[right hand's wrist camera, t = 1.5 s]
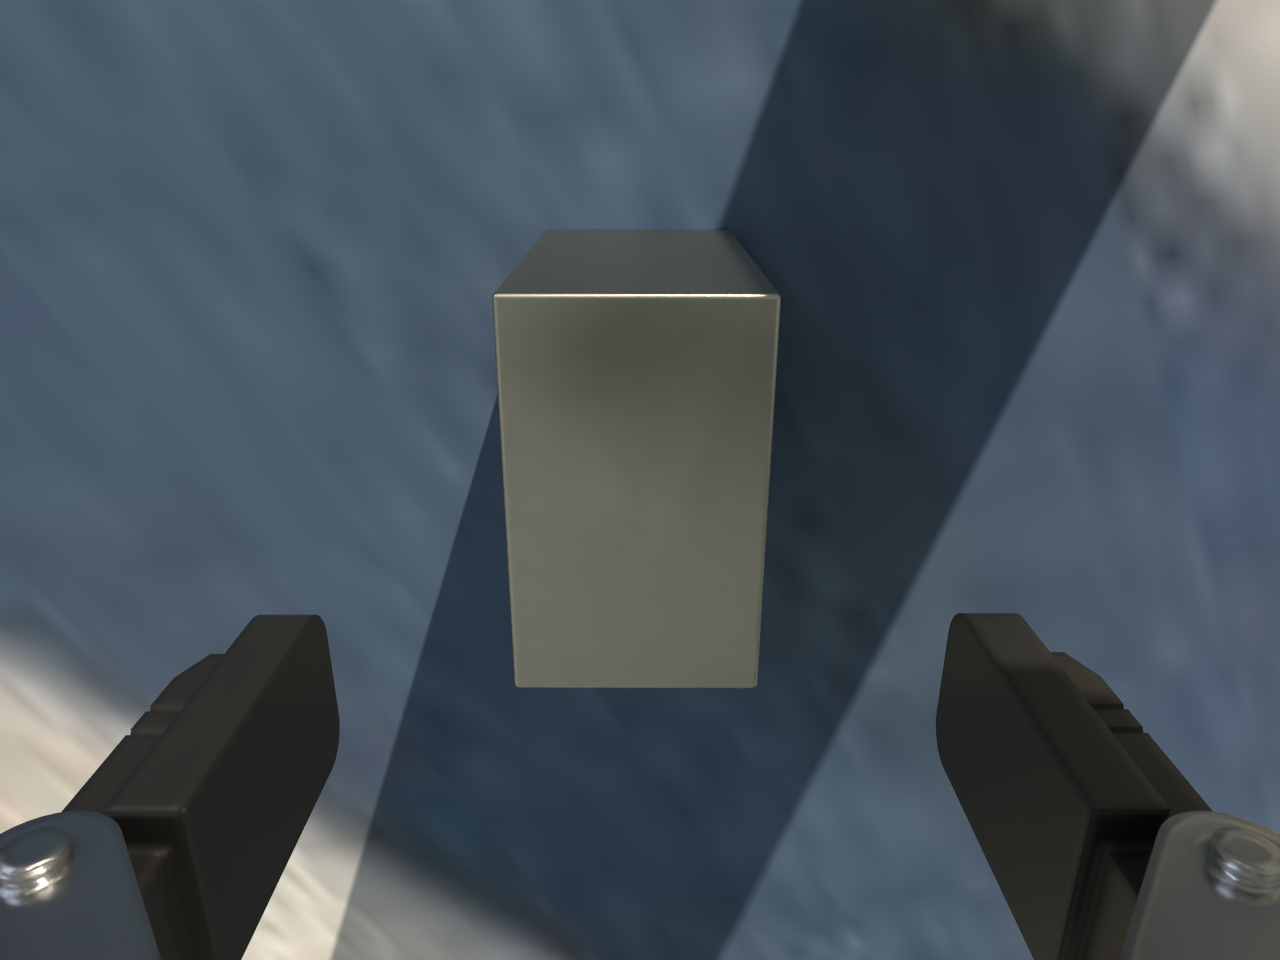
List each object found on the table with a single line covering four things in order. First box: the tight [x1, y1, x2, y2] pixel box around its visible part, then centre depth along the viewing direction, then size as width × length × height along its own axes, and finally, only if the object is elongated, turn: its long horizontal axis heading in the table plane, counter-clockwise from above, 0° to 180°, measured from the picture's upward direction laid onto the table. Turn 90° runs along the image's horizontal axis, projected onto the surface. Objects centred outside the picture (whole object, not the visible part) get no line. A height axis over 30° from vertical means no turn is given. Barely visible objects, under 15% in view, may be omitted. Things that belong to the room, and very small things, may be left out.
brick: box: [492, 229, 781, 688], centre depth 20 cm, size 5×8×9 cm, turn 0°
